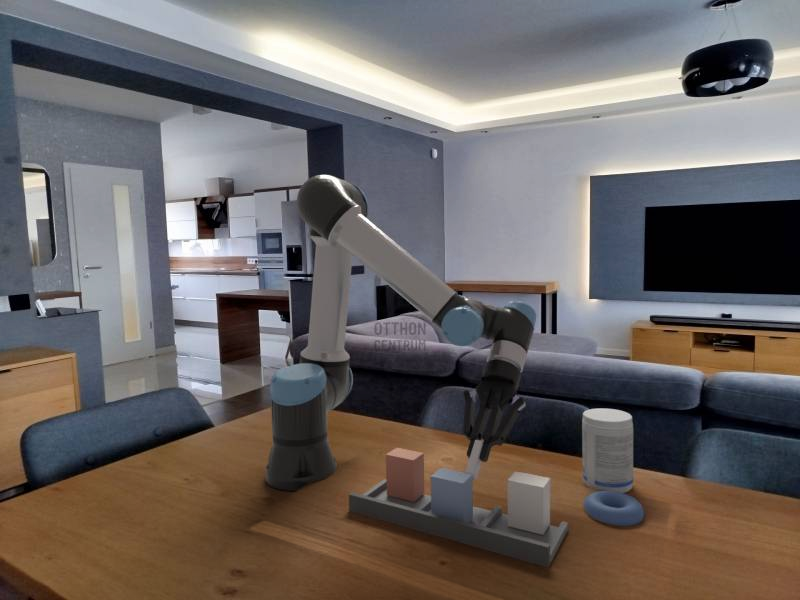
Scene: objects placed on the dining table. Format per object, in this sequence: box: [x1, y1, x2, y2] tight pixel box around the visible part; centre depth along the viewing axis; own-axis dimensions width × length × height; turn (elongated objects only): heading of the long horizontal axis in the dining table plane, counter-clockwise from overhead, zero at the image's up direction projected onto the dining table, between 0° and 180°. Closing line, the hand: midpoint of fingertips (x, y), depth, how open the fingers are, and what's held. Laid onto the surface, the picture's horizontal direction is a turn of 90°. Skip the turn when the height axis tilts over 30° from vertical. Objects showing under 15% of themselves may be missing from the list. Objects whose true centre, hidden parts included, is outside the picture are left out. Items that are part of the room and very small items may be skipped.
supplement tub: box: [581, 407, 634, 494], centre depth 108 cm, size 10×10×15 cm
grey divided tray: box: [348, 478, 569, 568], centre depth 93 cm, size 36×12×4 cm, turn 59°
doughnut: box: [583, 490, 645, 527], centre depth 95 cm, size 10×10×5 cm
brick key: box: [385, 447, 425, 502], centre depth 102 cm, size 6×4×8 cm, turn 59°
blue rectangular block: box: [430, 467, 474, 523], centre depth 92 cm, size 6×4×8 cm, turn 59°
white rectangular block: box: [507, 470, 551, 535], centre depth 90 cm, size 6×4×8 cm, turn 59°
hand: (471, 475), depth 98 cm, fingers closed
